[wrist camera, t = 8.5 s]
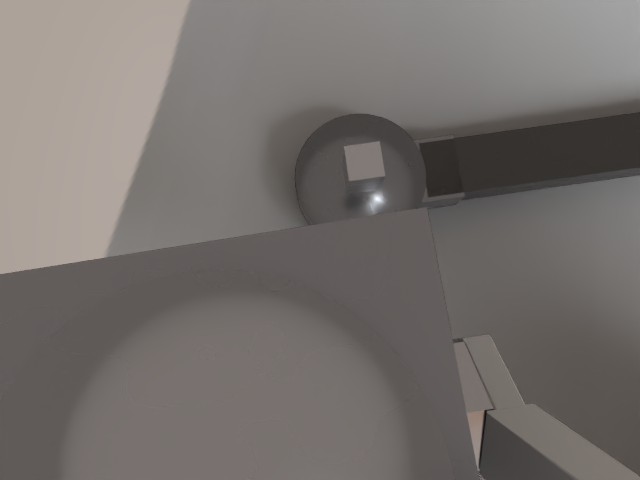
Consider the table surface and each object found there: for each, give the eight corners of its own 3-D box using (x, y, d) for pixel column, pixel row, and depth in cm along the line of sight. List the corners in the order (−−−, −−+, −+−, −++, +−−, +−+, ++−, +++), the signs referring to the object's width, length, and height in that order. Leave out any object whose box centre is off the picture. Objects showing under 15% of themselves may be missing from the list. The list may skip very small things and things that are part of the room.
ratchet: (731, 78, 30) (814, 29, 25) (761, 191, 29) (854, 164, 24) (289, 139, 29) (282, 102, 24) (306, 256, 29) (302, 242, 24)
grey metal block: (366, 270, 16) (437, 196, 6) (403, 487, 15) (551, 785, 5) (159, 304, 16) (-91, 279, 6) (185, 524, 15) (-60, 896, 5)
